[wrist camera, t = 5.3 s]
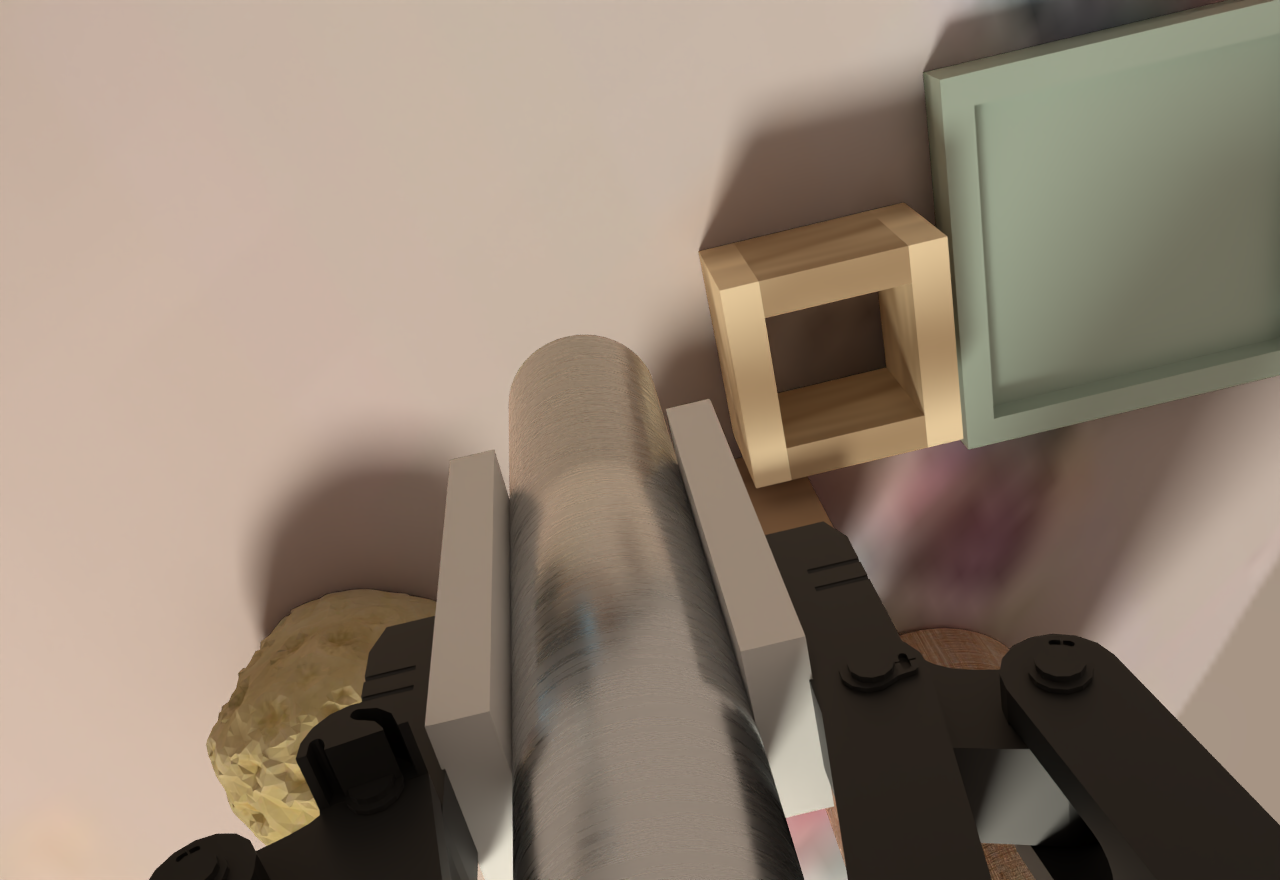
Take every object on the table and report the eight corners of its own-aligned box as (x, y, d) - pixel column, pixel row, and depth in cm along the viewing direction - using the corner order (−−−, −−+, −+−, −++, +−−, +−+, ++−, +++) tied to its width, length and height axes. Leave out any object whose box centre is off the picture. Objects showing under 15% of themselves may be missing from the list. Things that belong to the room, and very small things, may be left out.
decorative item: (485, 564, 45) (418, 551, 35) (543, 803, 44) (490, 860, 34) (266, 624, 46) (140, 628, 36) (315, 864, 44) (198, 937, 34)
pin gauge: (491, 354, 22) (474, 987, 9) (640, 319, 22) (825, 904, 9) (529, 483, 23) (559, 1185, 11) (669, 450, 23) (862, 1113, 11)
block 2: (604, 490, 40) (620, 582, 35) (791, 445, 40) (835, 531, 35) (643, 639, 43) (662, 745, 38) (816, 598, 43) (860, 698, 38)
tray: (922, 72, 34) (940, 80, 33) (1324, -23, 34) (1356, -20, 33) (953, 431, 40) (968, 449, 39) (1294, 349, 40) (1321, 365, 39)
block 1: (698, 251, 36) (719, 290, 33) (903, 202, 36) (947, 236, 33) (733, 434, 39) (756, 488, 36) (921, 389, 40) (963, 439, 36)
